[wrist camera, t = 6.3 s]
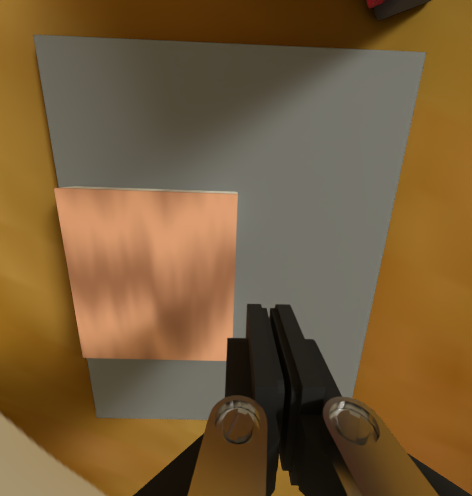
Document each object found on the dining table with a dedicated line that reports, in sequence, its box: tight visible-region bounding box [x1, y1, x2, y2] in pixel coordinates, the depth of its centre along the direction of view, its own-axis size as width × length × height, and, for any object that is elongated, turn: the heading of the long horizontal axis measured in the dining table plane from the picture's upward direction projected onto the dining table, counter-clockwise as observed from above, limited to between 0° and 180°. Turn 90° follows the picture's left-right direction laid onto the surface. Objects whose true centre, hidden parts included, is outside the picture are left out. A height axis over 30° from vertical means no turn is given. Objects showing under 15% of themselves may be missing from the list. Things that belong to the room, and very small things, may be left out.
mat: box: [33, 35, 426, 420], centre depth 16 cm, size 24×19×1 cm
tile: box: [54, 186, 238, 361], centre depth 15 cm, size 10×2×9 cm
